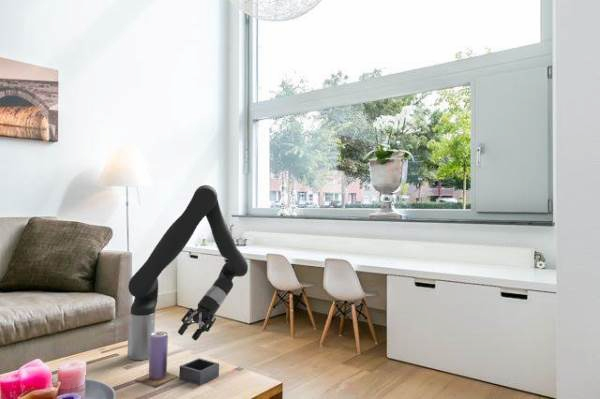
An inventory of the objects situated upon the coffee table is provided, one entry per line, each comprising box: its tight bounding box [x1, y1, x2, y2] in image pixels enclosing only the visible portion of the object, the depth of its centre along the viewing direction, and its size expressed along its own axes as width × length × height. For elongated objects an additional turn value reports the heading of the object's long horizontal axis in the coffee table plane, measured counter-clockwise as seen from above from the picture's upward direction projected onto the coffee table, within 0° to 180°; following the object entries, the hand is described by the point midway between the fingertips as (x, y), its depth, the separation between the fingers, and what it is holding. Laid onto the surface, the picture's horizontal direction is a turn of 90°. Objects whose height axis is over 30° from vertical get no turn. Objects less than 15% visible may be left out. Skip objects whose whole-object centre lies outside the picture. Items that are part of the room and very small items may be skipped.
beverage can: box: [148, 331, 169, 380], centre depth 151 cm, size 6×6×15 cm
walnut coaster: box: [135, 372, 179, 388], centre depth 151 cm, size 10×10×1 cm
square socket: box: [178, 357, 220, 386], centre depth 153 cm, size 10×10×4 cm
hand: (186, 336), depth 160 cm, fingers open, 8 cm apart
